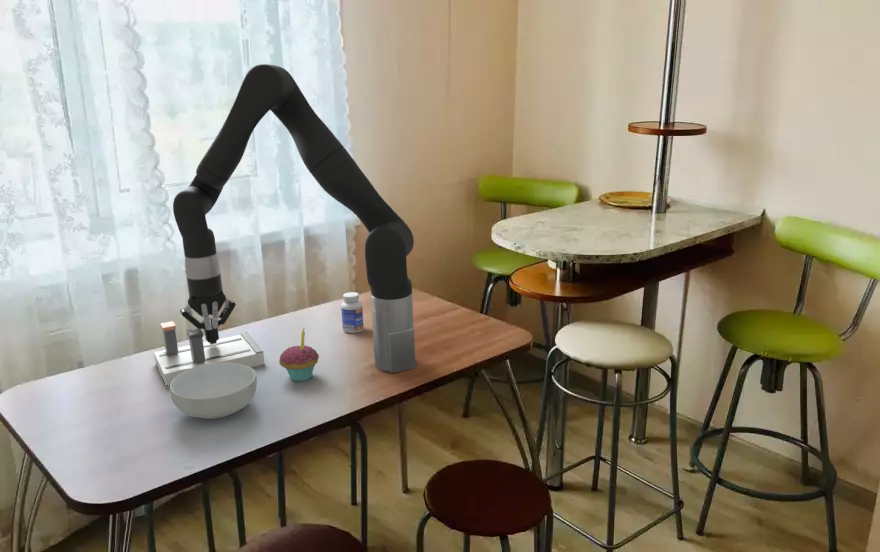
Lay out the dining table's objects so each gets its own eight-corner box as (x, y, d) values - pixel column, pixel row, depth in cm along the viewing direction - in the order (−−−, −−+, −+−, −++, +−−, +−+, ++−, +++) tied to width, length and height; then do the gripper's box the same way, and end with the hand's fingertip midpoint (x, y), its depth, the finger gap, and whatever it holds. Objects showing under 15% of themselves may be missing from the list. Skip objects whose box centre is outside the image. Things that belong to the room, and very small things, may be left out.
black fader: (206, 361, 166) (202, 332, 164) (193, 364, 164) (189, 335, 162) (203, 356, 169) (199, 328, 166) (190, 358, 167) (186, 330, 165)
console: (264, 364, 171) (263, 350, 170) (166, 386, 161) (163, 372, 160) (248, 344, 183) (247, 331, 182) (155, 363, 173) (153, 350, 172)
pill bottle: (360, 334, 188) (357, 298, 185) (339, 333, 189) (337, 297, 186) (366, 326, 193) (364, 291, 190) (346, 325, 194) (344, 290, 191)
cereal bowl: (213, 439, 139) (208, 405, 137) (156, 417, 148) (151, 386, 146) (276, 402, 153) (273, 371, 151) (221, 385, 161) (217, 355, 159)
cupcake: (327, 372, 166) (323, 322, 163) (305, 388, 159) (301, 336, 155) (295, 366, 170) (291, 317, 166) (273, 381, 162) (268, 330, 159)
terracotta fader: (179, 353, 170) (175, 325, 168) (166, 356, 169) (162, 328, 167) (176, 348, 173) (172, 321, 171) (164, 350, 172) (160, 323, 170)
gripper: (176, 282, 163) (187, 354, 169) (236, 272, 170) (244, 341, 175) (170, 274, 170) (181, 343, 175) (227, 264, 176) (236, 331, 181)
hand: (212, 342), depth 175 cm, fingers closed
